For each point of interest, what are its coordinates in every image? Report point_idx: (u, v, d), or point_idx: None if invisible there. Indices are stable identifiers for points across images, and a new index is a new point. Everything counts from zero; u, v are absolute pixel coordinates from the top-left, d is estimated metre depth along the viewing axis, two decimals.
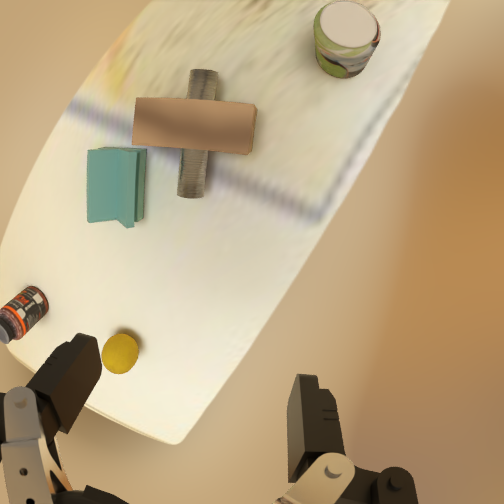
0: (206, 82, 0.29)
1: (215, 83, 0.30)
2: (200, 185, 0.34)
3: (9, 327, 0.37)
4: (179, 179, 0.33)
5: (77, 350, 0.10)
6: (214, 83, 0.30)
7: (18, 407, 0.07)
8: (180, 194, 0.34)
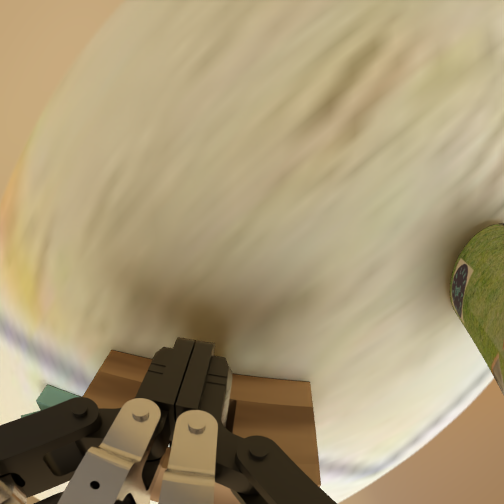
0: None
1: (228, 401, 0.13)
2: None
3: None
4: None
5: (185, 355, 0.11)
6: (225, 407, 0.13)
7: (143, 422, 0.08)
8: None
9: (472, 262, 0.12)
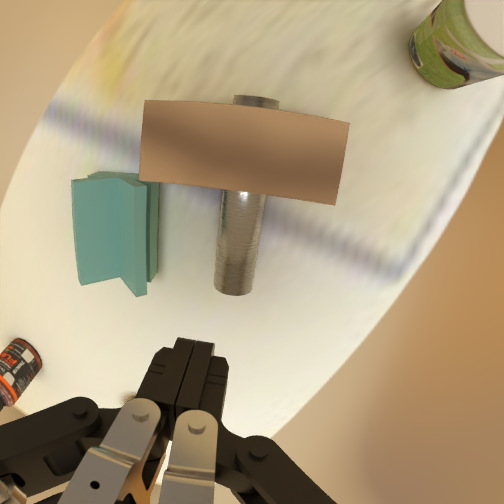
0: None
1: None
2: (252, 275, 0.24)
3: None
4: (220, 269, 0.23)
5: (185, 355, 0.11)
6: None
7: (143, 422, 0.08)
8: (223, 290, 0.23)
9: (415, 31, 0.17)
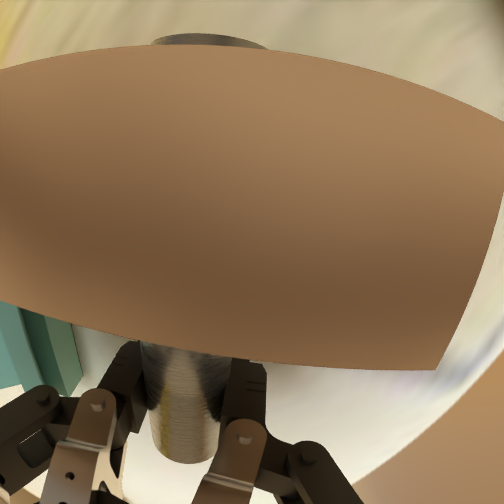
0: None
1: None
2: (216, 436, 0.11)
3: None
4: (153, 424, 0.10)
5: None
6: None
7: (98, 411, 0.08)
8: (164, 453, 0.11)
9: None
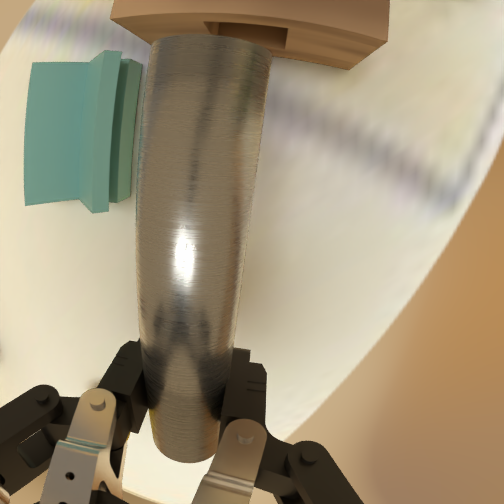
0: (228, 101, 0.06)
1: (265, 102, 0.07)
2: (216, 435, 0.11)
3: None
4: (154, 424, 0.10)
5: None
6: (262, 105, 0.07)
7: (98, 410, 0.08)
8: (164, 452, 0.11)
9: None
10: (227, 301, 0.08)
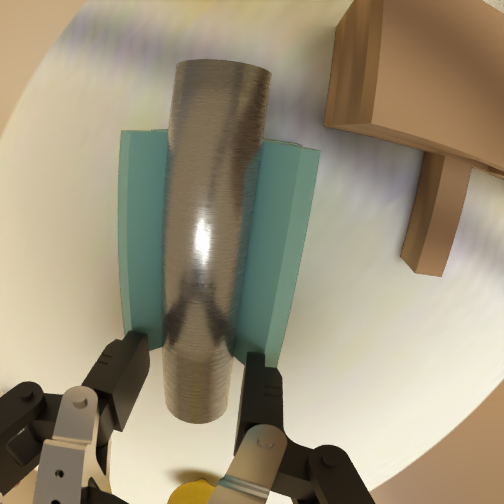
0: (232, 110, 0.08)
1: (265, 111, 0.09)
2: (220, 398, 0.13)
3: None
4: (166, 383, 0.13)
5: (132, 347, 0.11)
6: (261, 113, 0.09)
7: (80, 407, 0.07)
8: (173, 412, 0.13)
9: None
10: (232, 268, 0.10)
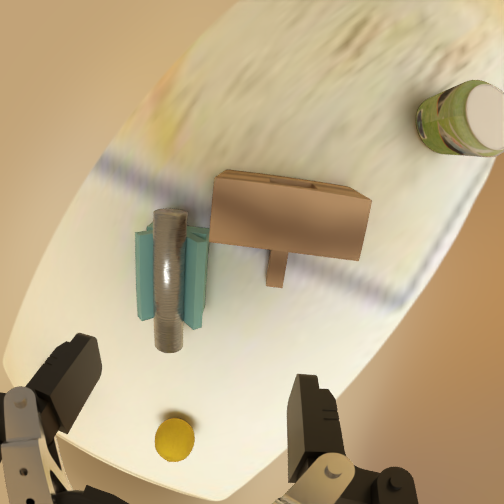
0: (172, 233, 0.26)
1: (185, 229, 0.27)
2: (178, 340, 0.30)
3: None
4: (155, 332, 0.30)
5: (77, 350, 0.10)
6: (183, 231, 0.27)
7: (18, 407, 0.07)
8: (158, 347, 0.30)
9: (422, 107, 0.24)
10: (177, 284, 0.28)
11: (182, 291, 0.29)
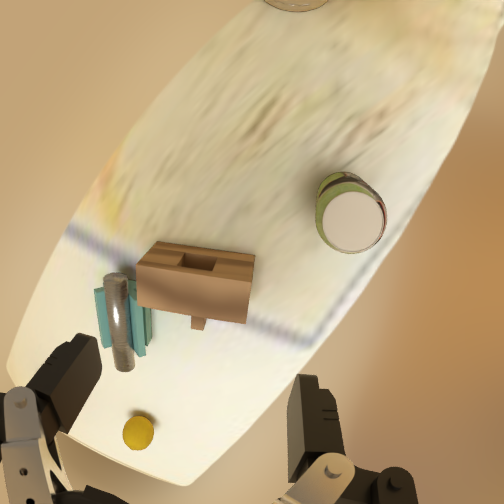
0: (116, 295, 0.35)
1: (126, 290, 0.36)
2: (129, 363, 0.39)
3: None
4: (113, 357, 0.39)
5: (77, 350, 0.10)
6: (124, 292, 0.35)
7: (18, 407, 0.07)
8: (116, 367, 0.39)
9: (319, 187, 0.32)
10: (124, 327, 0.37)
11: (129, 331, 0.38)
